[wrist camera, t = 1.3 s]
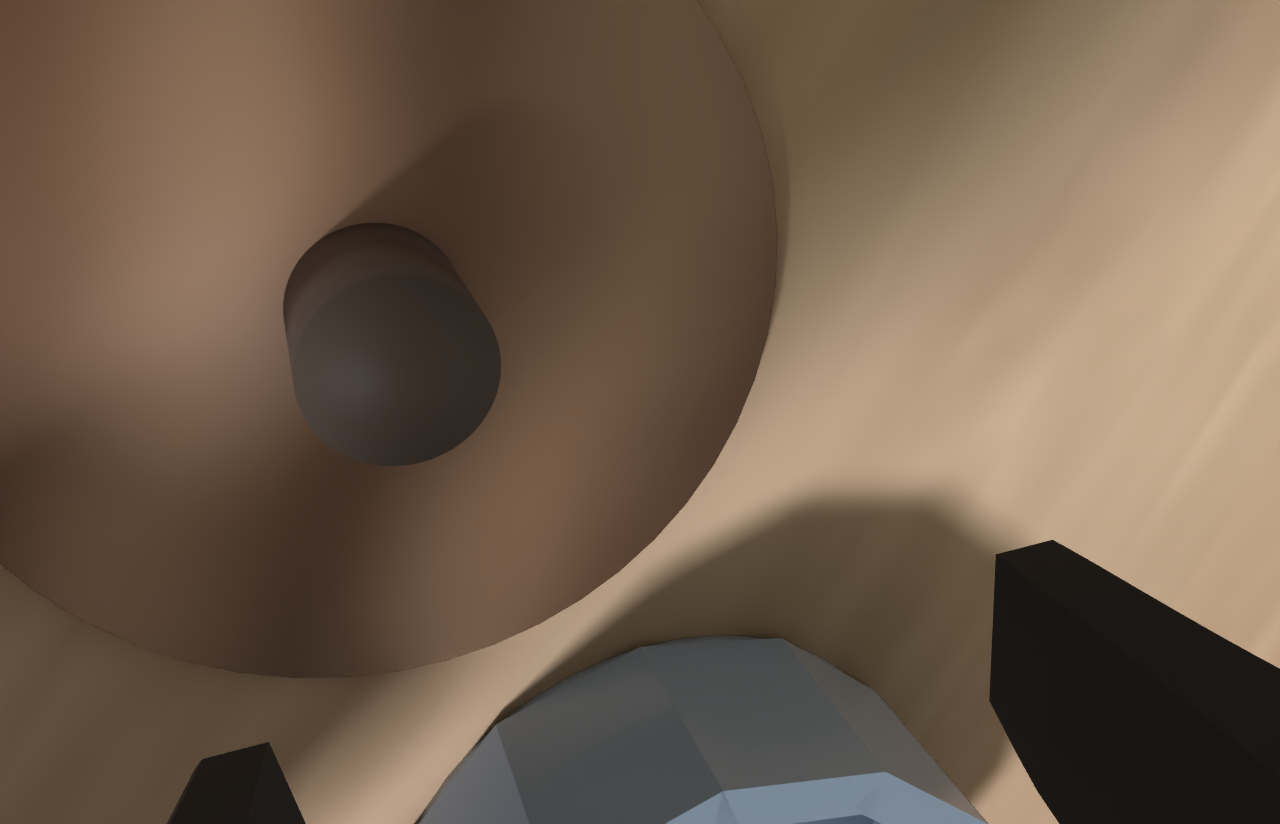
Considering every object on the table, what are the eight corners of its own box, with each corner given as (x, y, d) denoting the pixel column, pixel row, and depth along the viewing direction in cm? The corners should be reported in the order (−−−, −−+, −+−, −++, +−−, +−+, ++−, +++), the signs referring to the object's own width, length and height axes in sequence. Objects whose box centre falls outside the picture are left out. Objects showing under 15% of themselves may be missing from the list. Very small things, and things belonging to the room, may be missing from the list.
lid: (-96, 670, 19) (-165, 834, 16) (-186, -310, 14) (-320, -382, 10) (680, 629, 25) (754, 744, 21) (830, -85, 19) (961, -84, 16)
